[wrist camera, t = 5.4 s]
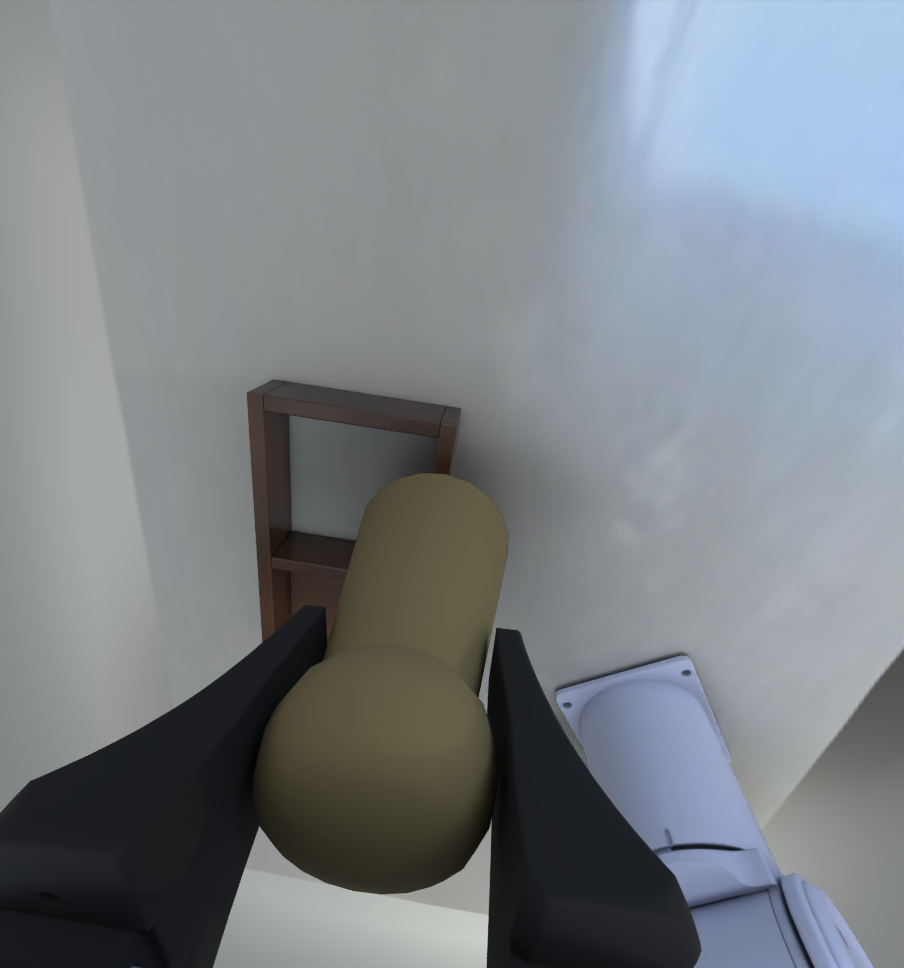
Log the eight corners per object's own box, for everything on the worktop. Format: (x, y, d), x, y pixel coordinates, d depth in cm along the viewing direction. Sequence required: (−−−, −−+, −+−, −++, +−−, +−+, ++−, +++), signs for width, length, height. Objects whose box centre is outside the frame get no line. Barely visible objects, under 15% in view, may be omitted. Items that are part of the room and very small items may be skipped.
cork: (501, 465, 17) (507, 747, 7) (514, 597, 19) (532, 946, 9) (344, 479, 18) (146, 748, 8) (376, 604, 20) (256, 931, 10)
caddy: (423, 673, 28) (416, 708, 26) (283, 649, 28) (264, 682, 26) (461, 408, 21) (457, 425, 19) (273, 379, 21) (246, 392, 19)
